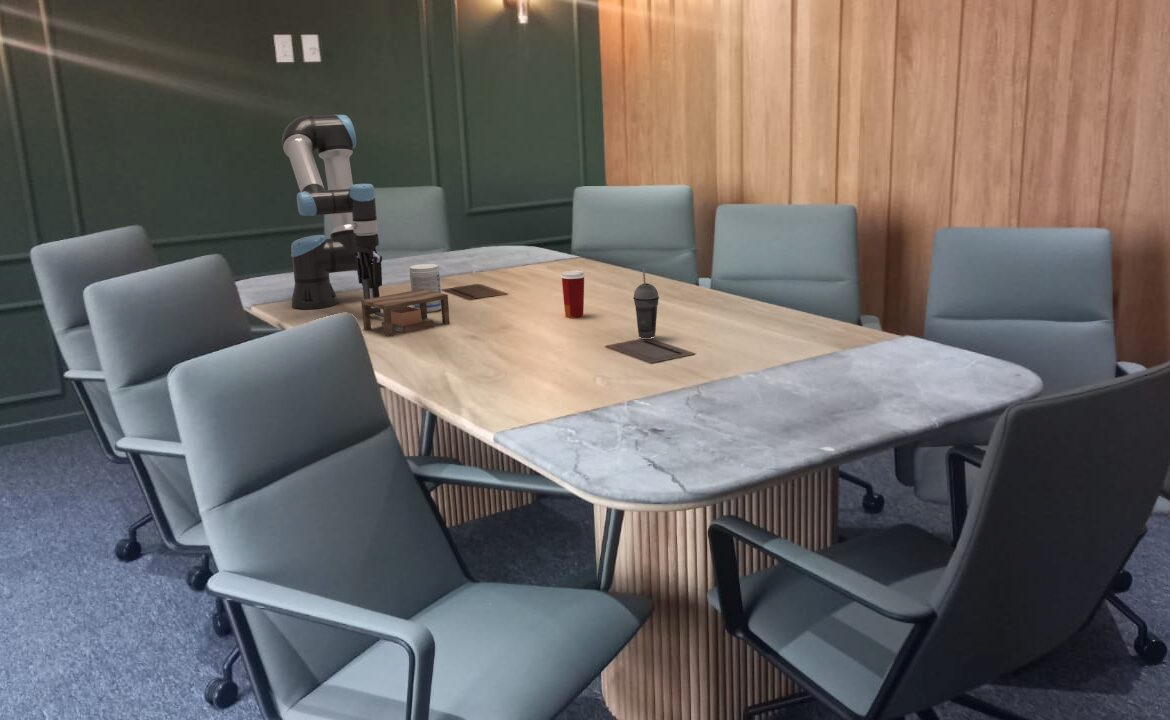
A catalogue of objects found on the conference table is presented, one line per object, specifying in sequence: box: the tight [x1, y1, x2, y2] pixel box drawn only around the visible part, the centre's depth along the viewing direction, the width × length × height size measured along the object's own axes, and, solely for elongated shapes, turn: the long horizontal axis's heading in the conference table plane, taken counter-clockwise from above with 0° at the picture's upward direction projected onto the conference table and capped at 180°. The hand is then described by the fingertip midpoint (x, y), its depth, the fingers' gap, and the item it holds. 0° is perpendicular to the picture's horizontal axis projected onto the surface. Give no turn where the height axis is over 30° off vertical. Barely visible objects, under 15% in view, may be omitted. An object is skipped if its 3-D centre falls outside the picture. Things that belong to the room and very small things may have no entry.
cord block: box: [361, 278, 423, 327], centre depth 317 cm, size 24×7×12 cm, turn 42°
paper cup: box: [560, 270, 586, 319], centre depth 316 cm, size 8×8×14 cm
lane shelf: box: [360, 289, 451, 337], centre depth 310 cm, size 14×22×9 cm, turn 132°
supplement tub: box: [409, 263, 442, 313], centre depth 333 cm, size 10×10×15 cm
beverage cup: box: [632, 267, 660, 338], centre depth 286 cm, size 7×7×20 cm
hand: (372, 306), depth 325 cm, fingers closed on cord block, 3 cm apart
